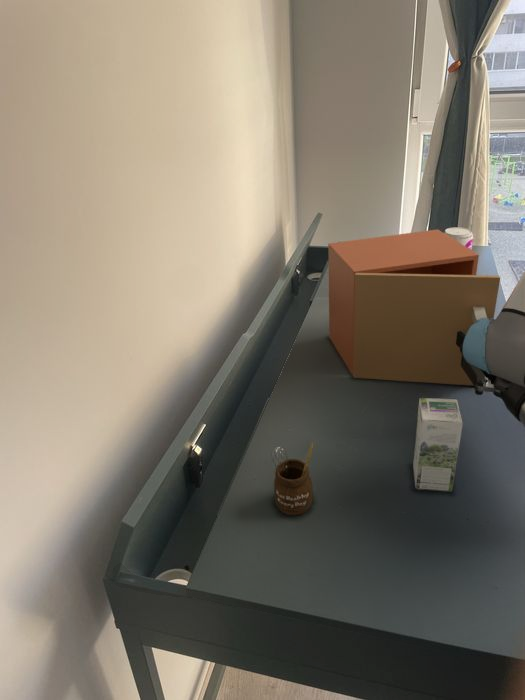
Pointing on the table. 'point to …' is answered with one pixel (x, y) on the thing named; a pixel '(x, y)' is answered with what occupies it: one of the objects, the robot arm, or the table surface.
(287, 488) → the utensil holder
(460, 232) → the supplement can
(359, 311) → the cabinet door
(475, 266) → the cabinet
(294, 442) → the table surface
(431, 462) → the syrup box
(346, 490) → the table surface
